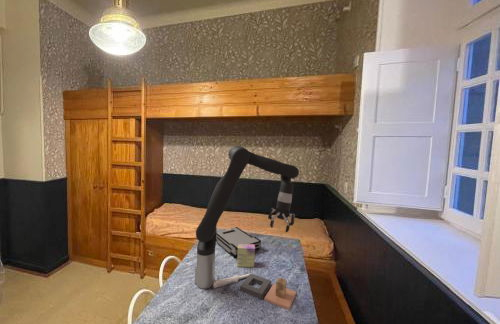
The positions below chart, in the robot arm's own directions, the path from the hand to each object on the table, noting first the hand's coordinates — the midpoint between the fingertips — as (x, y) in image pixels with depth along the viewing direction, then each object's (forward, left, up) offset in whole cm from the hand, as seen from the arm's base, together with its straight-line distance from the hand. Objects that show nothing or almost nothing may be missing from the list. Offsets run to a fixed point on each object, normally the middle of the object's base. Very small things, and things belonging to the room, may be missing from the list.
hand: (279, 229), depth 116 cm
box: (-21, +1, -27) cm, 34 cm away
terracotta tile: (+7, -15, -27) cm, 32 cm away
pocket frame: (-6, -15, -27) cm, 31 cm away
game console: (-38, +19, -28) cm, 51 cm away
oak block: (+7, -14, -26) cm, 30 cm away
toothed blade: (-19, -16, -28) cm, 37 cm away
